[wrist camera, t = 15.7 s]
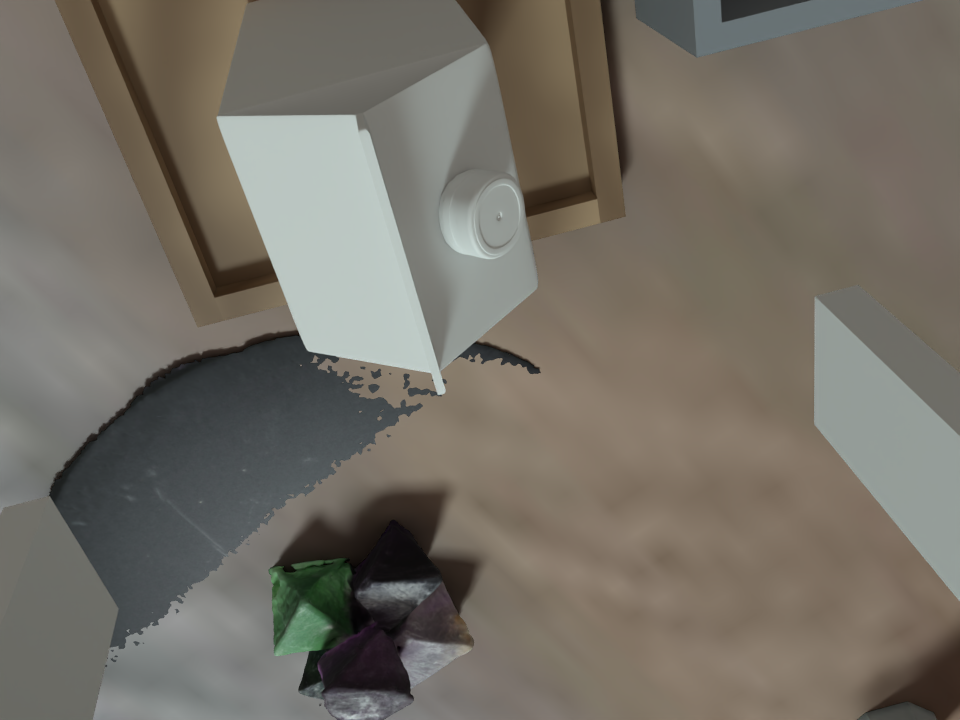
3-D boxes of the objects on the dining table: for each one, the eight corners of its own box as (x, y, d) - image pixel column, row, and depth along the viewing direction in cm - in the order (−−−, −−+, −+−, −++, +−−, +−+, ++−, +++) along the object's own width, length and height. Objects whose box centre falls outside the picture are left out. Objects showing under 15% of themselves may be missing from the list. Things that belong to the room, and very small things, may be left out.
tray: (556, -247, 33) (570, -250, 31) (612, 200, 43) (625, 216, 41) (20, -119, 32) (4, -115, 31) (201, 306, 42) (197, 327, 41)
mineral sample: (212, 824, 63) (209, 962, 56) (-110, 463, 44) (-181, 599, 36) (669, 639, 65) (728, 749, 57) (553, 209, 45) (618, 289, 38)
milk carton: (303, 172, 39) (306, 433, 23) (244, 1, 35) (198, 173, 19) (463, 128, 39) (577, 357, 23) (422, -46, 35) (525, 84, 19)
